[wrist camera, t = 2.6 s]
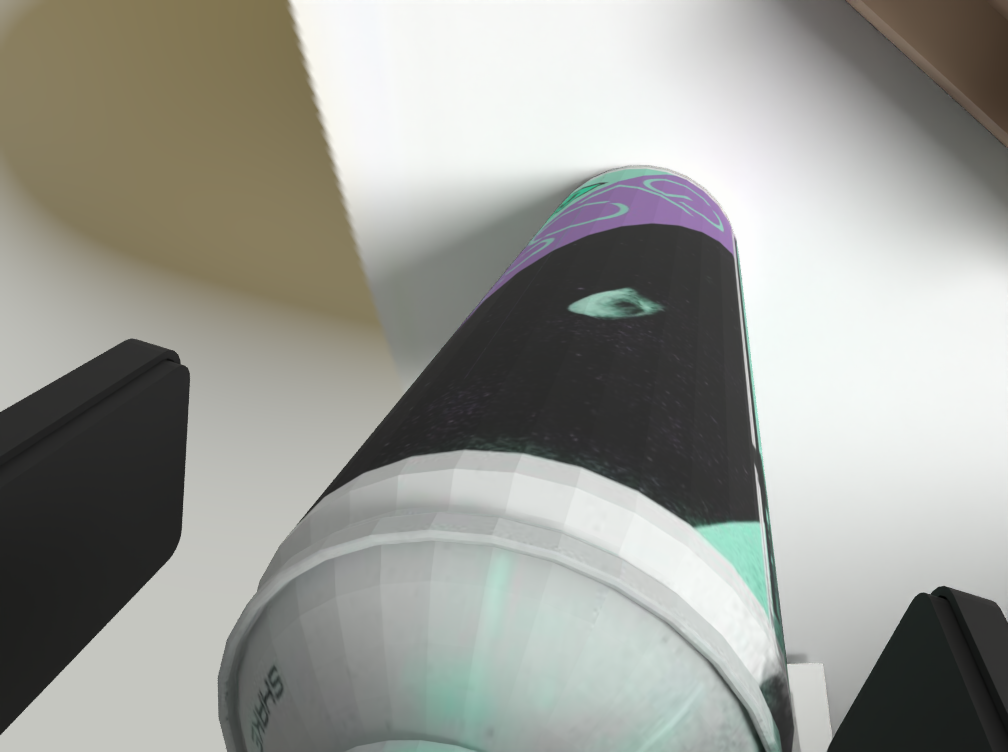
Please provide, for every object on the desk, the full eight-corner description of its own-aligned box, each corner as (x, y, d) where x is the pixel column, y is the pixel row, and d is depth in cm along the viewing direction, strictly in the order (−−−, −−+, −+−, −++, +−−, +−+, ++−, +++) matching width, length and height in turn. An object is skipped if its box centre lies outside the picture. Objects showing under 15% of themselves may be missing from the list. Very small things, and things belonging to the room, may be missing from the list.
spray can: (686, 126, 21) (555, 665, 3) (771, 305, 23) (993, 1363, 5) (509, 220, 23) (-138, 860, 6) (597, 380, 25) (300, 1311, 7)
